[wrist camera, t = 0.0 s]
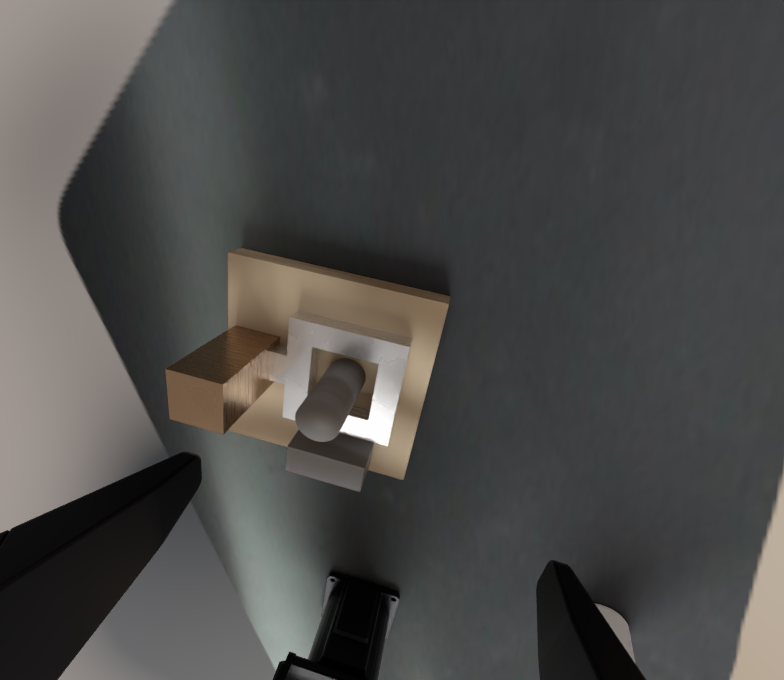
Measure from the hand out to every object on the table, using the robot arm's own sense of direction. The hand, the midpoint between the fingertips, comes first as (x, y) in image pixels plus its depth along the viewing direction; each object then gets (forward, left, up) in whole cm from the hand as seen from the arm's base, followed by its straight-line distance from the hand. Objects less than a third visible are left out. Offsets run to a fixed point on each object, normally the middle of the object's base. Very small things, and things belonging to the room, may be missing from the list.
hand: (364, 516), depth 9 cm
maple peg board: (-5, +5, -15) cm, 16 cm away
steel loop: (-4, +6, -13) cm, 15 cm away
